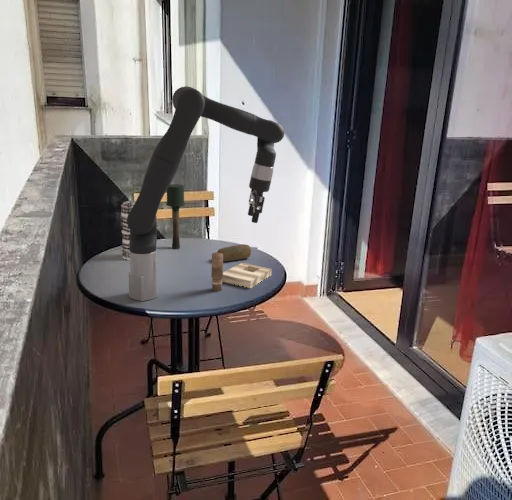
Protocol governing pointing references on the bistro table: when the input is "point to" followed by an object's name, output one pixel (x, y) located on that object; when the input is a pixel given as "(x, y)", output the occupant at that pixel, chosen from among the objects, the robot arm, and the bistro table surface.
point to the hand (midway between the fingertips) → (252, 218)
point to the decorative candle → (126, 227)
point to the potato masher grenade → (175, 209)
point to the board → (246, 275)
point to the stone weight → (235, 252)
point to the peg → (217, 271)
